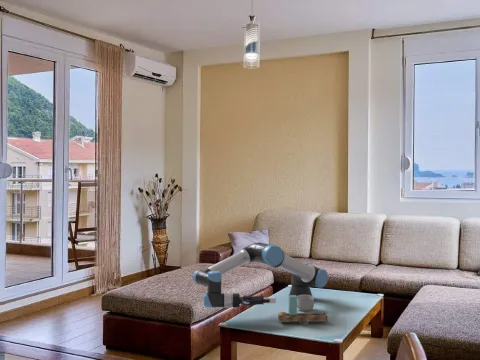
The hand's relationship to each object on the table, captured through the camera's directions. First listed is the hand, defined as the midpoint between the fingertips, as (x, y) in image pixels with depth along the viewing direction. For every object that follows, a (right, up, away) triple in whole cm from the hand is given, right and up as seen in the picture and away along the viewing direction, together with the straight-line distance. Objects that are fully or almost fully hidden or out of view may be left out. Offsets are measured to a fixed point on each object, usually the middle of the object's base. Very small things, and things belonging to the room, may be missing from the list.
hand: (275, 300), depth 287 cm
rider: (+9, -9, +1) cm, 13 cm away
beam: (+15, -13, +1) cm, 20 cm away
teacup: (+18, -12, +28) cm, 35 cm away
